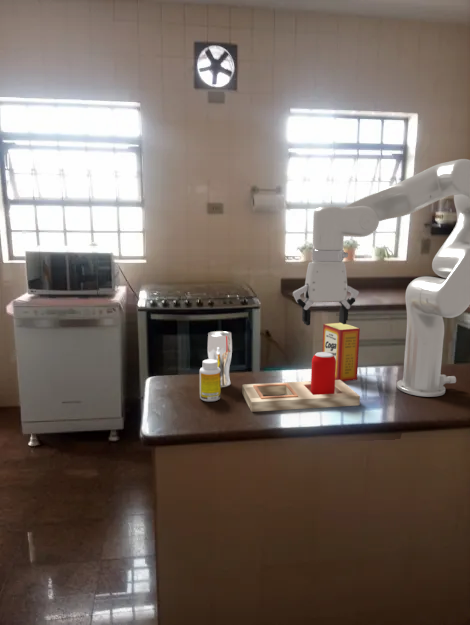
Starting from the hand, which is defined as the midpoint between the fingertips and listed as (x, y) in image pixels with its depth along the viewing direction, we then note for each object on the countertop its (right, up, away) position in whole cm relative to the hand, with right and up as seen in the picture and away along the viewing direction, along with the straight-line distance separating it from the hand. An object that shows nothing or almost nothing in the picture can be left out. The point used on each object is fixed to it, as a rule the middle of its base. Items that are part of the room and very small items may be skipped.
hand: (324, 323), depth 117 cm
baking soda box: (+9, -17, +22) cm, 29 cm away
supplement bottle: (-30, -20, +3) cm, 36 cm away
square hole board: (-6, -20, +3) cm, 21 cm away
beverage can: (0, -20, +4) cm, 20 cm away
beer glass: (-28, -18, +14) cm, 36 cm away
